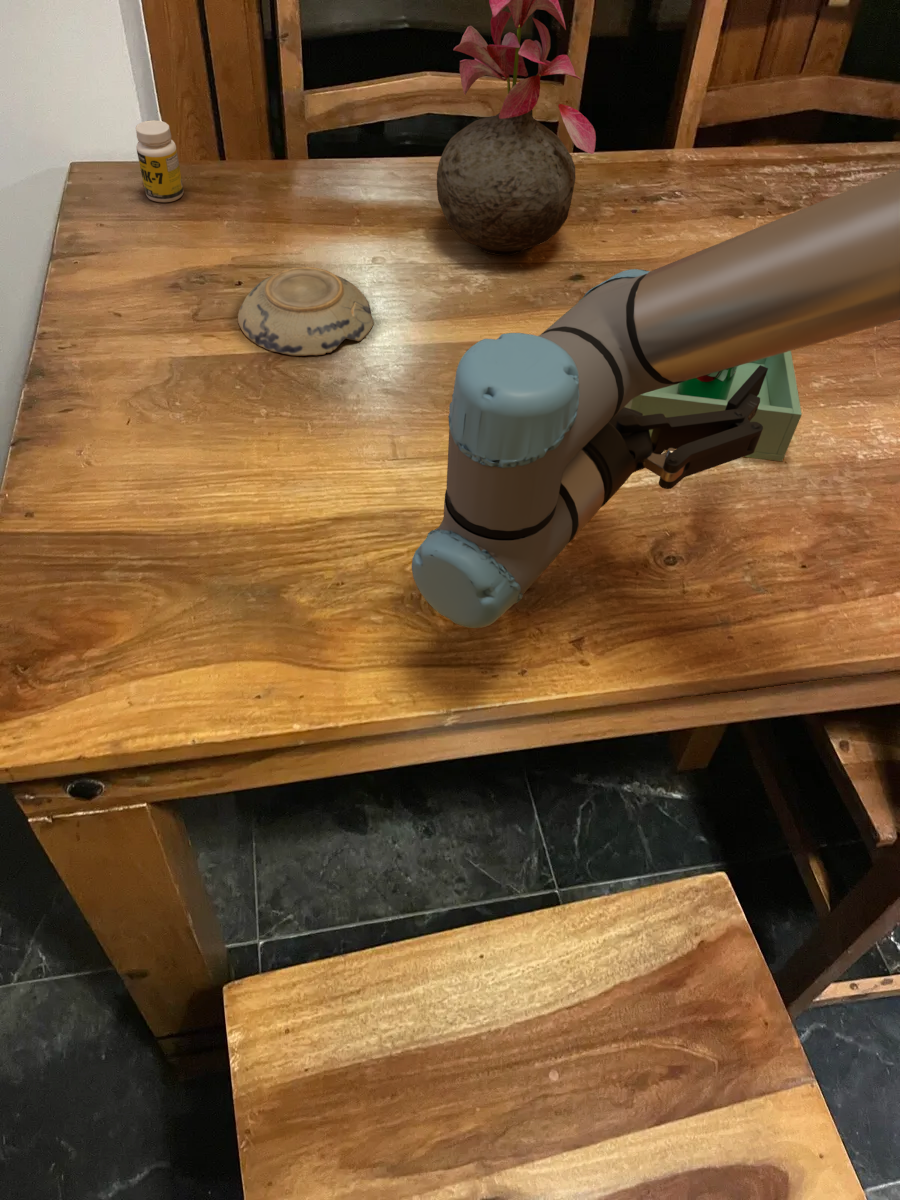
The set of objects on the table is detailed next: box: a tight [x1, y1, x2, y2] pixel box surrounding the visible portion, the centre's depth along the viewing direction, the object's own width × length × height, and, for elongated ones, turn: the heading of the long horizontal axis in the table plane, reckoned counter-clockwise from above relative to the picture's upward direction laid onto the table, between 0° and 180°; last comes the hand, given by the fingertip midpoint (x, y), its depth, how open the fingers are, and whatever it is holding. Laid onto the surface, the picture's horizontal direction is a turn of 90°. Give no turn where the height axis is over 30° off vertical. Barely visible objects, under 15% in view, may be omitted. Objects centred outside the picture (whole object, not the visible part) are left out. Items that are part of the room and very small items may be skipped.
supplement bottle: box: [135, 120, 184, 204], centre depth 116 cm, size 5×5×8 cm
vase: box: [436, 0, 597, 256], centre depth 104 cm, size 17×17×30 cm
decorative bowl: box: [237, 266, 374, 357], centre depth 102 cm, size 15×4×15 cm
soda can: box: [678, 366, 738, 400], centre depth 91 cm, size 5×5×12 cm
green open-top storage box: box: [625, 351, 803, 462], centre depth 94 cm, size 16×16×6 cm
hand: (689, 349), depth 83 cm, fingers open, 13 cm apart
